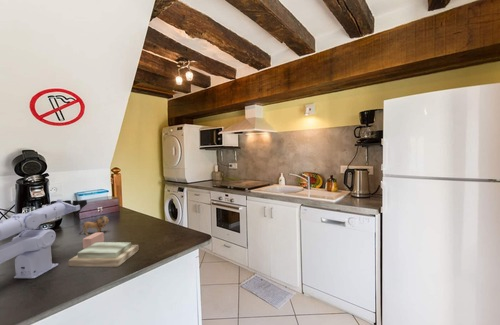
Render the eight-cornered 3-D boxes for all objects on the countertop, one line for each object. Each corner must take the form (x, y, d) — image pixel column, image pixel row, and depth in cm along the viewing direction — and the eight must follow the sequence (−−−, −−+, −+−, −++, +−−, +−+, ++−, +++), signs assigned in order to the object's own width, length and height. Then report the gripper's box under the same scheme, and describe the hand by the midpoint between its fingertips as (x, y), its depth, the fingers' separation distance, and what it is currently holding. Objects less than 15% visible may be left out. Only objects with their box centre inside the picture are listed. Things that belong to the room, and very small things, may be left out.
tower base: (118, 266, 84) (117, 255, 84) (68, 266, 85) (68, 255, 85) (138, 250, 98) (138, 240, 98) (96, 250, 99) (95, 240, 99)
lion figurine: (110, 230, 125) (109, 214, 125) (107, 233, 120) (106, 217, 120) (81, 233, 122) (80, 217, 121) (76, 236, 116) (75, 220, 116)
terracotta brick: (91, 249, 101) (90, 238, 100) (83, 249, 101) (82, 238, 101) (104, 242, 109) (103, 232, 108) (96, 242, 109) (95, 232, 109)
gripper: (65, 202, 86) (92, 193, 100) (31, 203, 87) (62, 194, 101) (67, 219, 87) (93, 208, 101) (33, 220, 88) (64, 208, 102)
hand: (78, 202), depth 101 cm, fingers open, 7 cm apart
